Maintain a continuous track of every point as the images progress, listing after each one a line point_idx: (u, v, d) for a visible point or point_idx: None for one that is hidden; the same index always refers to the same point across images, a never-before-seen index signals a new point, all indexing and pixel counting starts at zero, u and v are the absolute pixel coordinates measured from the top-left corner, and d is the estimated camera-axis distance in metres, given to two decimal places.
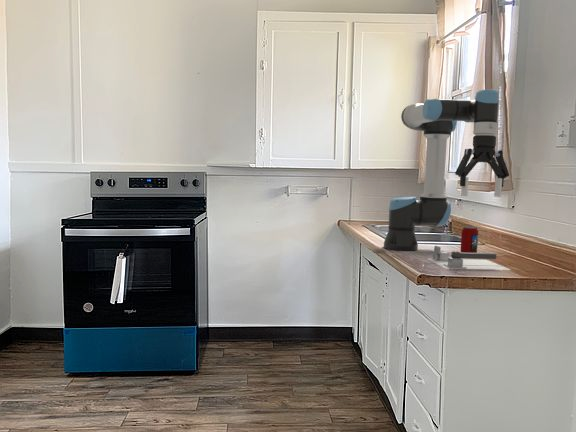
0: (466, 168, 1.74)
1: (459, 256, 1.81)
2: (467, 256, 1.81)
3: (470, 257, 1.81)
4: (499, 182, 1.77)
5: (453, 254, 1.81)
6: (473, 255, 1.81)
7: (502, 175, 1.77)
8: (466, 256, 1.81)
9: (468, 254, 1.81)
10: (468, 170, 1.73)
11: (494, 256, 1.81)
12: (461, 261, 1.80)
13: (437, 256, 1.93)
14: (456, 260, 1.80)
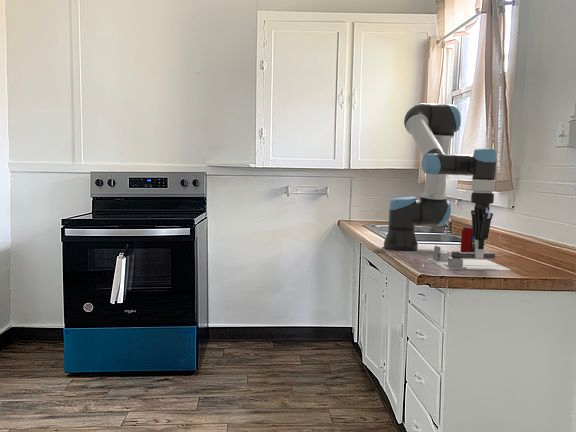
0: None
1: (459, 256, 1.81)
2: (467, 256, 1.81)
3: (470, 257, 1.81)
4: None
5: (453, 254, 1.81)
6: (473, 255, 1.81)
7: None
8: (466, 256, 1.81)
9: (468, 254, 1.81)
10: None
11: (493, 256, 1.82)
12: (461, 261, 1.80)
13: (437, 256, 1.93)
14: (456, 260, 1.80)
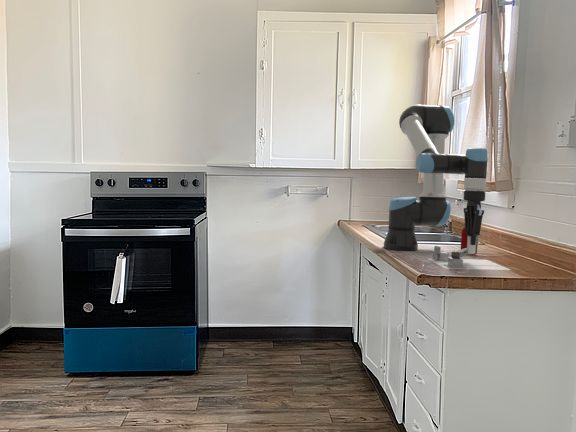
0: None
1: (459, 255, 1.82)
2: (462, 254, 1.84)
3: (463, 255, 1.85)
4: None
5: (457, 254, 1.80)
6: (464, 253, 1.86)
7: None
8: (461, 254, 1.84)
9: (462, 252, 1.84)
10: None
11: None
12: (461, 261, 1.80)
13: (437, 256, 1.93)
14: (456, 260, 1.80)
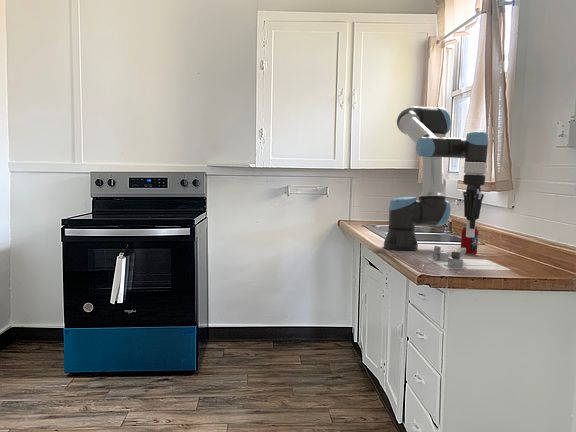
0: None
1: None
2: (460, 254, 1.84)
3: (461, 255, 1.86)
4: None
5: (457, 254, 1.80)
6: (462, 252, 1.86)
7: None
8: (460, 254, 1.84)
9: (461, 252, 1.85)
10: None
11: (465, 250, 1.93)
12: (461, 261, 1.80)
13: (437, 256, 1.93)
14: (456, 260, 1.80)
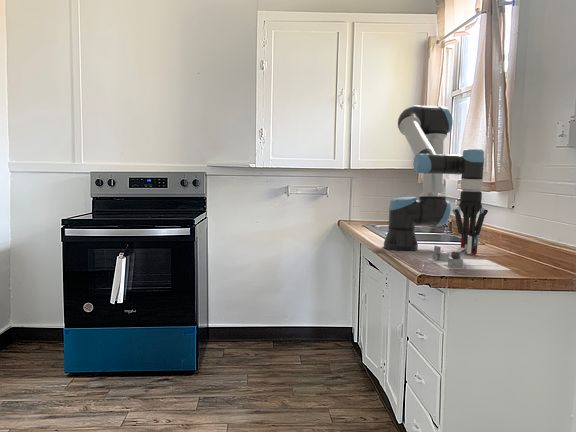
0: None
1: None
2: (460, 254, 1.85)
3: (461, 255, 1.86)
4: None
5: (457, 254, 1.80)
6: (461, 252, 1.86)
7: None
8: (460, 254, 1.84)
9: (460, 252, 1.85)
10: None
11: None
12: (461, 261, 1.80)
13: (437, 256, 1.93)
14: (456, 260, 1.80)
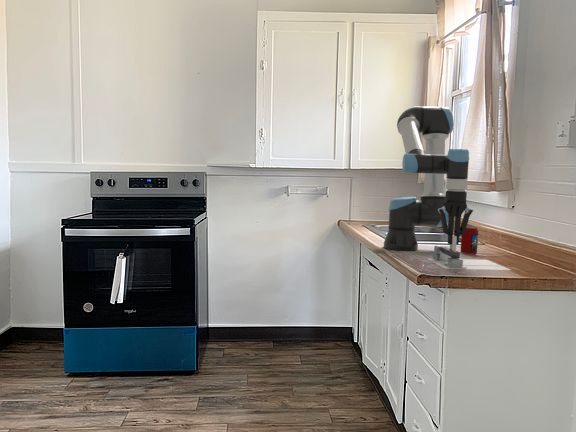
0: None
1: None
2: None
3: None
4: None
5: (459, 254, 1.80)
6: None
7: None
8: None
9: None
10: None
11: None
12: (461, 261, 1.80)
13: (437, 256, 1.93)
14: (456, 260, 1.80)
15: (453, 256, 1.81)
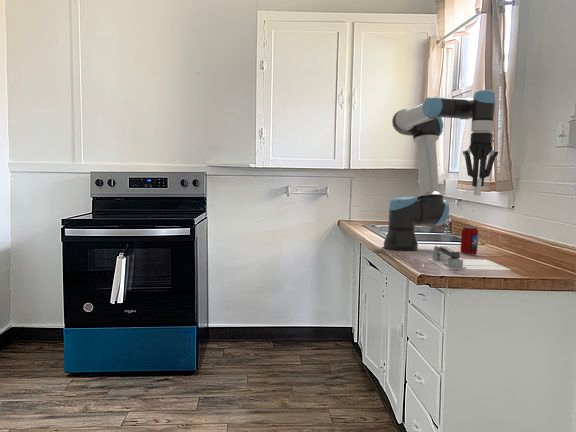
0: None
1: None
2: None
3: None
4: None
5: (459, 254, 1.80)
6: None
7: None
8: None
9: None
10: None
11: None
12: (461, 261, 1.80)
13: (437, 256, 1.93)
14: (456, 260, 1.80)
15: (453, 256, 1.81)
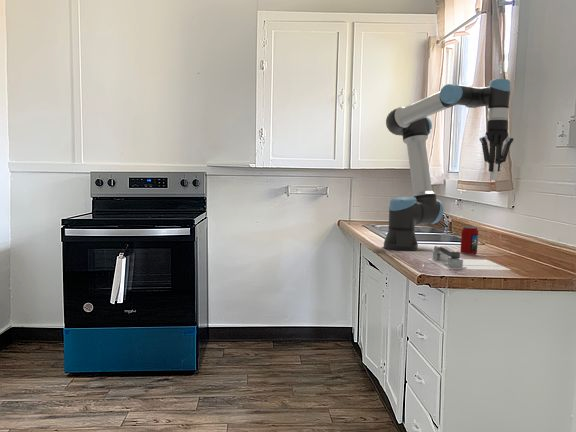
0: None
1: None
2: None
3: None
4: None
5: (459, 254, 1.80)
6: None
7: None
8: None
9: None
10: None
11: None
12: (461, 261, 1.80)
13: (437, 256, 1.93)
14: (456, 260, 1.80)
15: (453, 256, 1.81)
